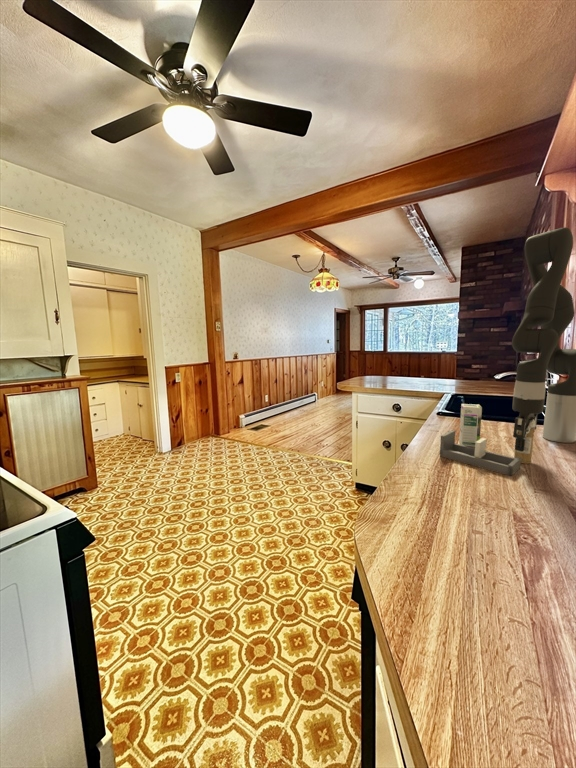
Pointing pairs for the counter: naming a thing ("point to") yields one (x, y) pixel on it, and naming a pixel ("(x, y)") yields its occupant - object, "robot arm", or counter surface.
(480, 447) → the pusher plate
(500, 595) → the counter surface
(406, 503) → the counter surface
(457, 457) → the grey slide rail frame
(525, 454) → the sprinkles bottle
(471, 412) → the syrup box
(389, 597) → the counter surface
